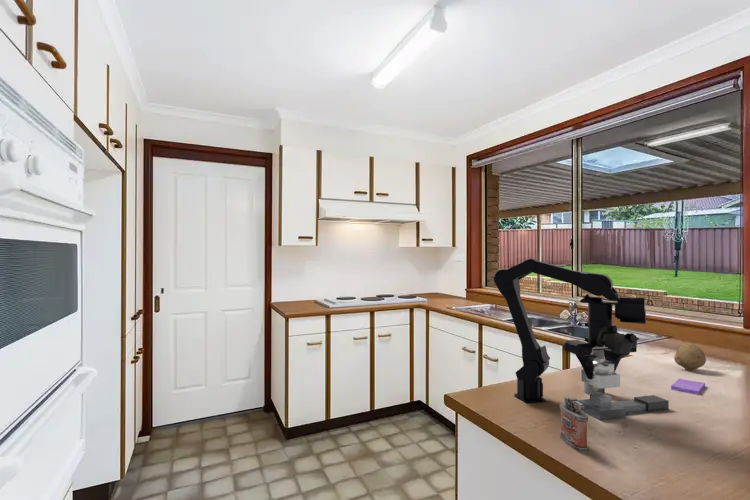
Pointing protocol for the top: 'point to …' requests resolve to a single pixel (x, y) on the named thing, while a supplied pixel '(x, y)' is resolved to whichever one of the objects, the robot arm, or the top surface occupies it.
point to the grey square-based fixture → (602, 375)
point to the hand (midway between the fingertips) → (600, 378)
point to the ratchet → (621, 406)
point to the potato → (690, 357)
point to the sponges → (688, 386)
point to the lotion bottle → (591, 388)
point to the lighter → (574, 424)
